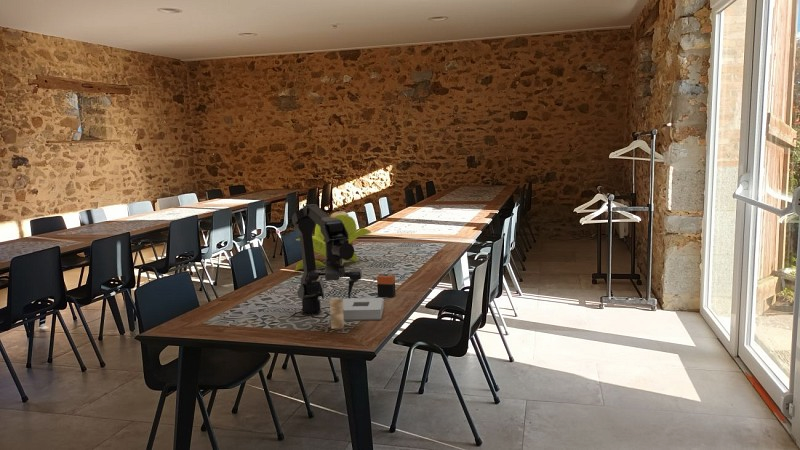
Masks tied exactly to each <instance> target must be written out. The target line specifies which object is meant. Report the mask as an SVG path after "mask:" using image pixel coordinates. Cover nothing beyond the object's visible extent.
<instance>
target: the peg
mask: <svg viewBox="0 0 800 450" xmlns="http://www.w3.org/2000/svg"><path fill="white" fill-rule="evenodd" d="M343 299H344V298H343V297H339V298H338V297H336V298H332V297H331V299H330V300H329V307H330V308H329V310H330V311H329V313H330V329H332V330H333V329H339V330H340V329H343V328H344V326H345V321H344V315H343Z"/></svg>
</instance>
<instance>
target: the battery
mask: <svg viewBox="0 0 800 450" xmlns="http://www.w3.org/2000/svg"><path fill="white" fill-rule="evenodd" d="M376 284H377V285H376V286H377V298H394V297H395V296H396V294H397V293H396V275H395V273H394V274H393V273H392V272H390V273H389V272H388V273H386V272H384V271H382V272H379V274H378V275H377V276H376Z"/></svg>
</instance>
